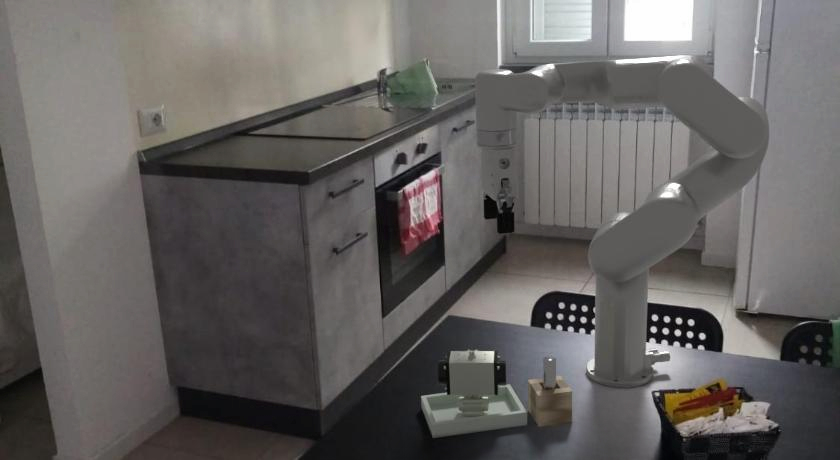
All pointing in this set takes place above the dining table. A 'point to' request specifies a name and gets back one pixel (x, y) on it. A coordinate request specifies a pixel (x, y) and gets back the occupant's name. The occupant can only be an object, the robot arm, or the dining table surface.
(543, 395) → the bore block
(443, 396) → the tray
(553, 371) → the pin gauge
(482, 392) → the pneumatic valve
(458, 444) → the dining table surface
